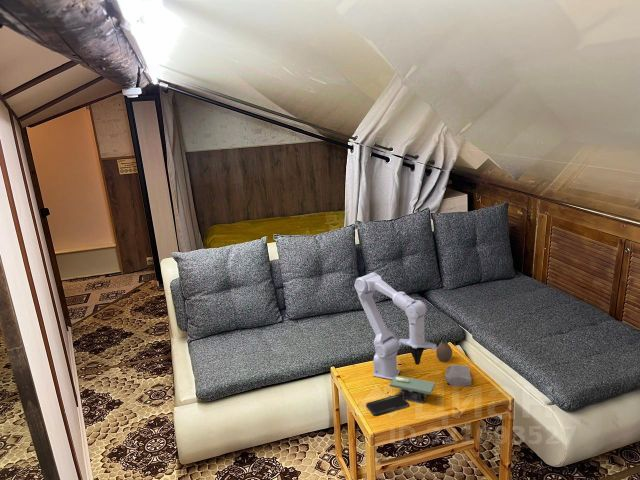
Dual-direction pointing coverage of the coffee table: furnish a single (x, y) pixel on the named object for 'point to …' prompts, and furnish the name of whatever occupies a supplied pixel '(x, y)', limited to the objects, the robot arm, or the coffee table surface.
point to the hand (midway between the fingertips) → (417, 363)
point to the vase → (444, 352)
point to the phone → (386, 405)
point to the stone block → (458, 375)
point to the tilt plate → (412, 384)
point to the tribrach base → (412, 396)
